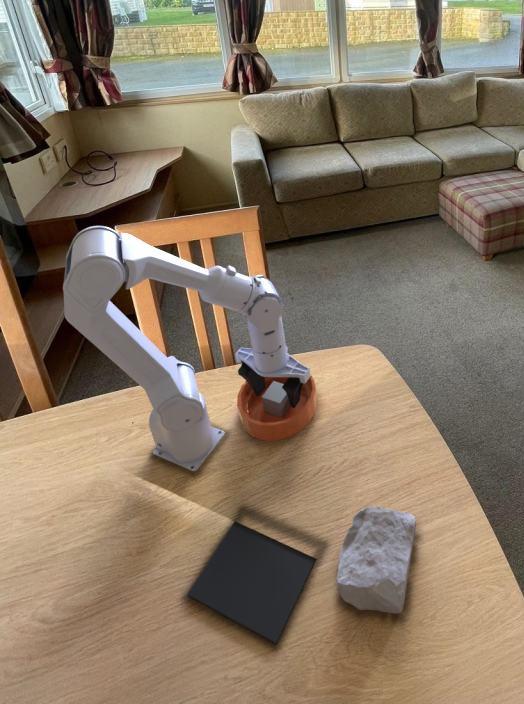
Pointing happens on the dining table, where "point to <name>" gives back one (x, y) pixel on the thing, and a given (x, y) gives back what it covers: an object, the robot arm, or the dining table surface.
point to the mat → (253, 581)
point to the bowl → (271, 425)
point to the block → (276, 400)
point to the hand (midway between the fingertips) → (277, 397)
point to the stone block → (376, 559)
